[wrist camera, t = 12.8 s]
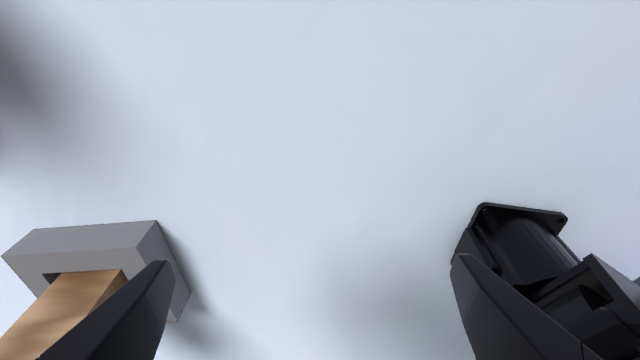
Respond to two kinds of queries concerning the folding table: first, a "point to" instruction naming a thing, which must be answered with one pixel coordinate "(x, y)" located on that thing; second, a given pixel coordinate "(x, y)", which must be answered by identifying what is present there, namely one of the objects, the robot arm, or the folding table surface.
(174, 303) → the gray block with hole
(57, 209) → the folding table surface
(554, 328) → the robot arm
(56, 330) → the slat
